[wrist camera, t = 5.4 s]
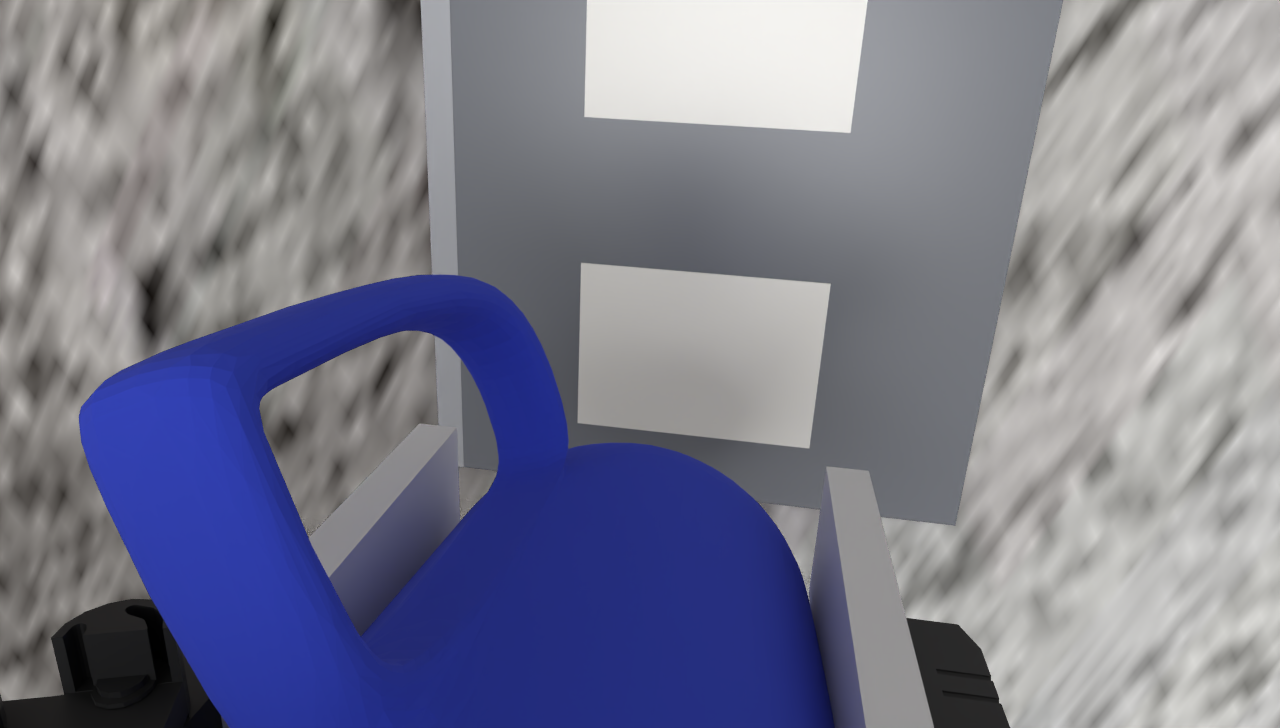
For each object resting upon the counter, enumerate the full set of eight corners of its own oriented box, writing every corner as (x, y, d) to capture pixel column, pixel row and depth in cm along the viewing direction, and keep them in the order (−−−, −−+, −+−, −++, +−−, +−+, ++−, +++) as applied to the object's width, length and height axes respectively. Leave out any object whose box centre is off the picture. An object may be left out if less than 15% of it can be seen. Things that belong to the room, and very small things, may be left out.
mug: (708, 121, 14) (591, 238, 4) (884, 699, 17) (1029, 1460, 8) (293, 265, 16) (-401, 558, 6) (524, 759, 19) (293, 1425, 10)
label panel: (445, 457, 27) (439, 464, 27) (420, -185, 21) (412, -190, 20) (952, 517, 25) (955, 526, 24) (1093, -177, 19) (1101, -183, 18)
